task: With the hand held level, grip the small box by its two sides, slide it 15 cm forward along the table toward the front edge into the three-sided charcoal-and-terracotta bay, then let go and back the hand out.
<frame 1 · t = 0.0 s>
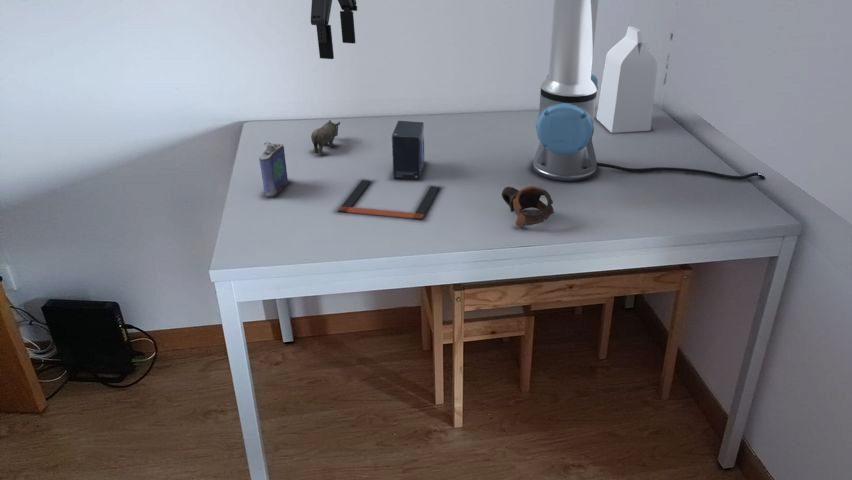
hand: (338, 50, 147), 28 cm above the table, tool pointing down, fingers open, 13 cm apart
small box: (409, 171, 164), on the table
flask: (276, 189, 153), on the table
milk: (622, 125, 196), on the table
bay: (390, 199, 150), on the table
rhino figurine: (328, 146, 176), on the table
pottery mug: (526, 219, 145), on the table
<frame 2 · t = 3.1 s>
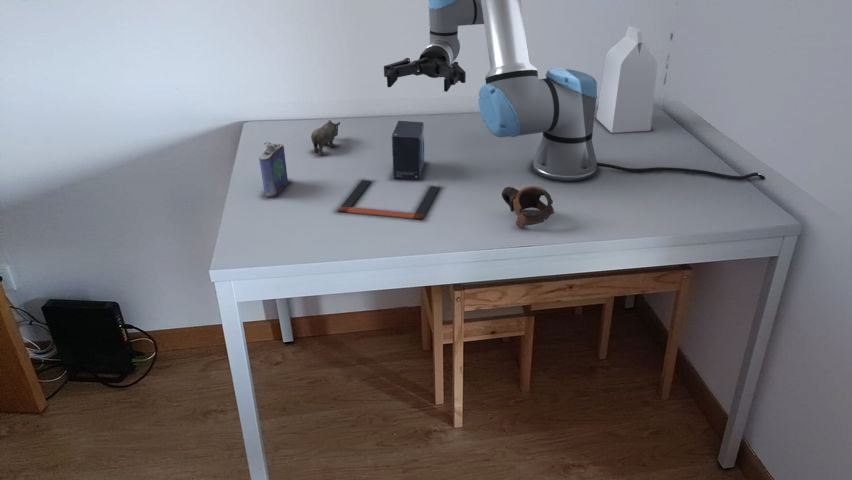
hand: (416, 83, 162), 18 cm above the table, tool horizontal, fingers open, 13 cm apart
nothing on the table moved.
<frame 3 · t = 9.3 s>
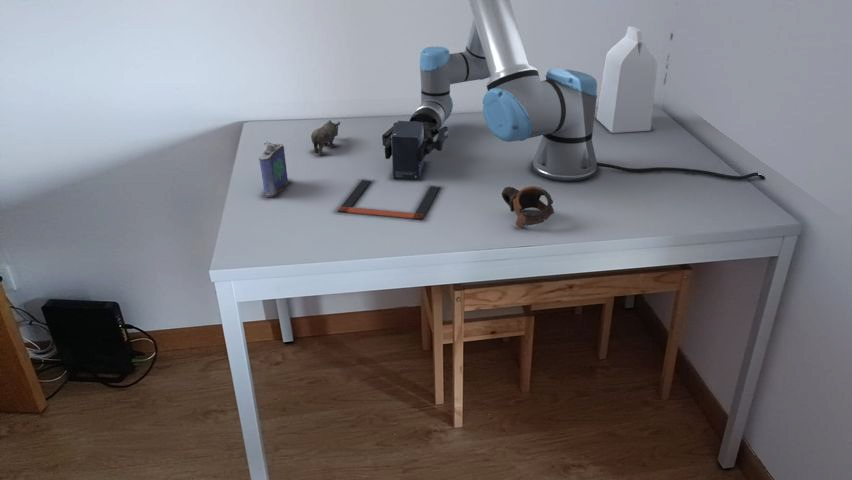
hand: (403, 154, 156), 6 cm above the table, tool horizontal, fingers closed on small box, 7 cm apart
small box: (409, 171, 164), on the table, touching gripper
everything else where it was.
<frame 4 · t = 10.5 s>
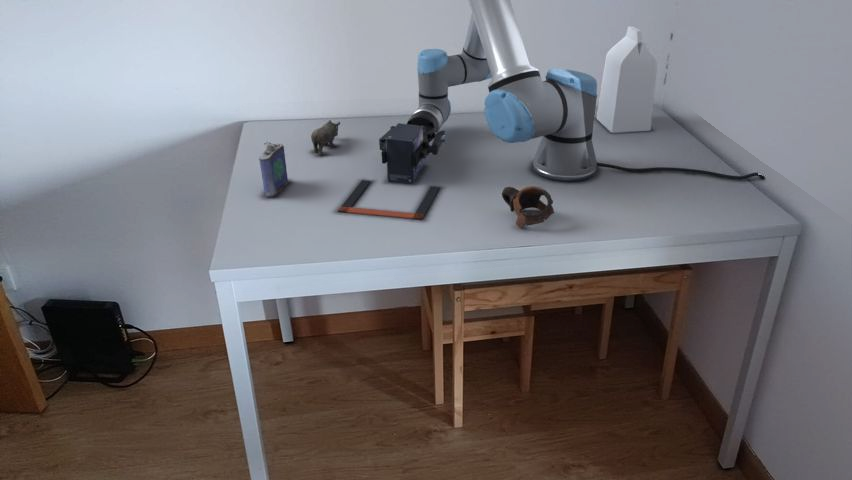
hand: (398, 159, 154), 6 cm above the table, tool horizontal, fingers closed on small box, 6 cm apart
small box: (406, 175, 162), on the table, touching gripper
everything else where it was.
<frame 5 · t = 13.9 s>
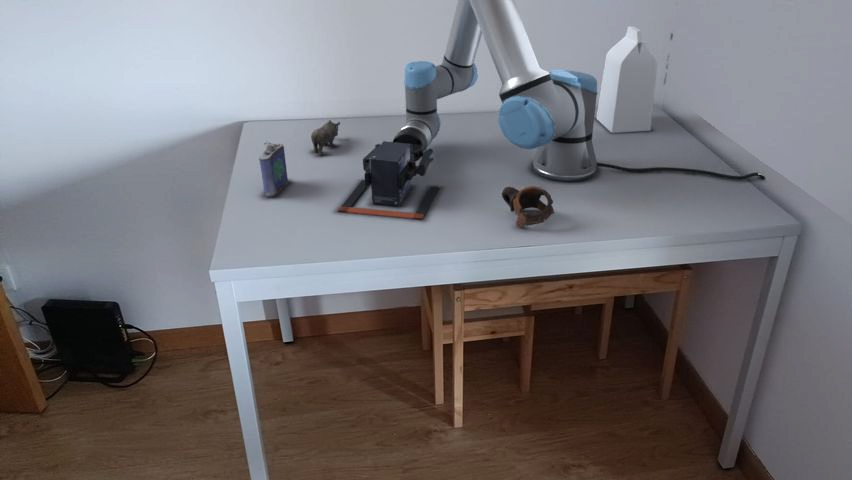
hand: (383, 181, 144), 6 cm above the table, tool horizontal, fingers closed on small box, 6 cm apart
small box: (392, 196, 152), on the table, touching gripper
everything else where it was.
when the fingers open (6 cm above the table, at t = 14.1 s): small box stays where it is, on the table.
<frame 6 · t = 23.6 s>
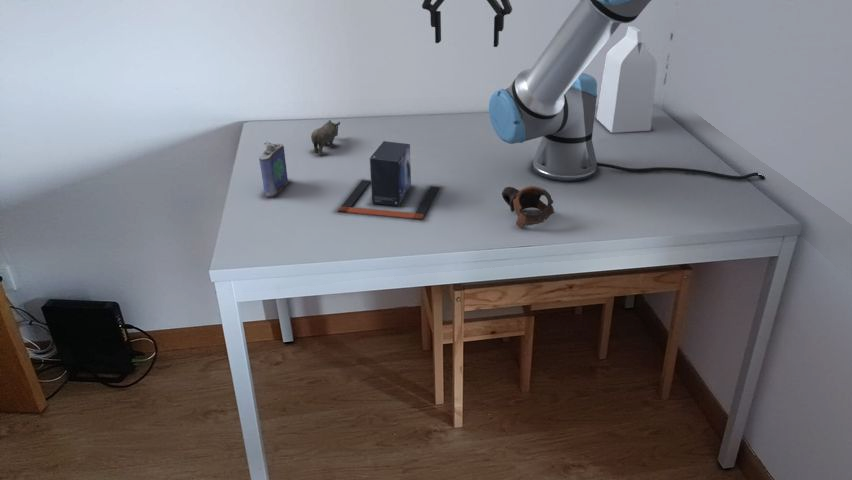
hand: (467, 43, 160), 27 cm above the table, tool pointing down, fingers open, 13 cm apart
small box: (392, 196, 152), on the table
everything else where it was.
at the end: small box inside the target area on the bay (1.1 cm from its centre), point 0.0 cm above the bay's base; small box tilted 0°; the gripper is holding nothing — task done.
